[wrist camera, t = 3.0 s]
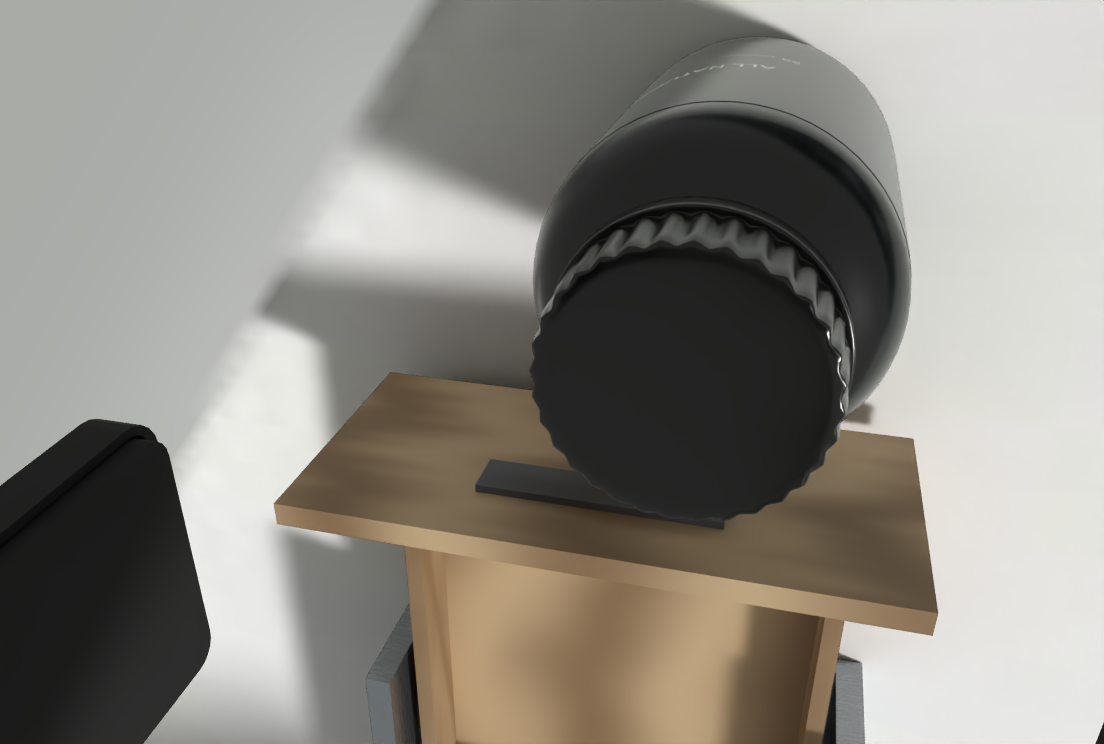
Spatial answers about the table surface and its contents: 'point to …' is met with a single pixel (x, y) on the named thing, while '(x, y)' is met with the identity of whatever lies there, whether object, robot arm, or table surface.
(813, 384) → the supplement bottle
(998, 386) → the table surface
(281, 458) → the table surface
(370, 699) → the housing
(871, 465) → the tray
